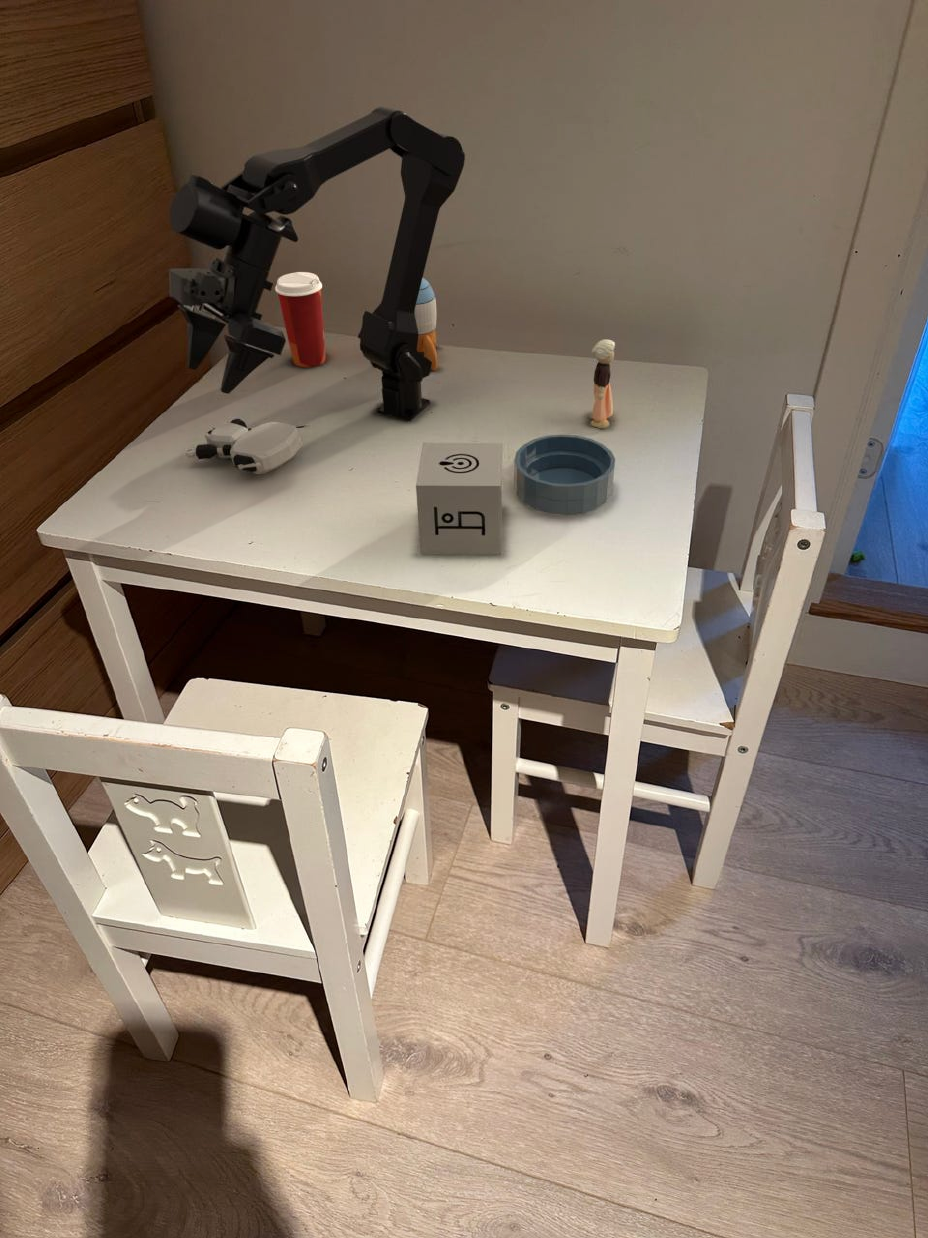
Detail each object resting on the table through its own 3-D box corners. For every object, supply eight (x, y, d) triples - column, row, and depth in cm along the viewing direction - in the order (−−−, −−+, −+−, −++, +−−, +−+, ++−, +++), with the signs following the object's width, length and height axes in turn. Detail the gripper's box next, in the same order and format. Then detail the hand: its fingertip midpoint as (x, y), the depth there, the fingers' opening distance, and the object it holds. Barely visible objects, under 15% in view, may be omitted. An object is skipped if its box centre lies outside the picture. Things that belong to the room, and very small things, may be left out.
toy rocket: (449, 375, 151) (429, 295, 139) (388, 386, 152) (363, 308, 141) (448, 342, 157) (429, 262, 146) (390, 353, 159) (367, 275, 148)
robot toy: (185, 473, 128) (268, 489, 122) (176, 444, 126) (261, 460, 120) (238, 434, 137) (318, 448, 131) (230, 407, 134) (312, 420, 128)
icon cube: (420, 553, 111) (415, 485, 104) (426, 509, 119) (422, 442, 112) (500, 554, 110) (501, 485, 104) (502, 509, 118) (502, 442, 111)
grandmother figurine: (617, 430, 133) (625, 349, 125) (592, 432, 133) (598, 351, 125) (606, 406, 139) (613, 327, 131) (582, 408, 139) (587, 329, 131)
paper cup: (339, 354, 156) (330, 274, 146) (316, 373, 150) (304, 290, 141) (302, 347, 158) (290, 268, 149) (277, 365, 153) (263, 283, 144)
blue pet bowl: (538, 457, 128) (539, 426, 125) (625, 479, 123) (629, 447, 120) (497, 503, 119) (497, 471, 116) (589, 528, 114) (592, 495, 111)
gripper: (156, 220, 111) (120, 340, 115) (228, 258, 100) (184, 389, 104) (232, 252, 119) (196, 363, 124) (306, 291, 108) (263, 411, 113)
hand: (207, 380), depth 116 cm, fingers open, 9 cm apart
